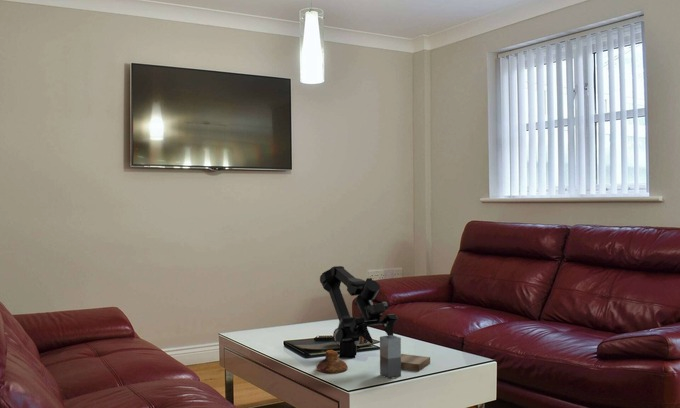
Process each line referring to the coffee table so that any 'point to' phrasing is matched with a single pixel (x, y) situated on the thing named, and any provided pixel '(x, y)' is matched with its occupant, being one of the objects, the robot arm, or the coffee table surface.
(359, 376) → the coffee table surface
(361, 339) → the brown white half disc
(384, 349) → the block
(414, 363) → the stand
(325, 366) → the bell
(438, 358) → the coffee table surface
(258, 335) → the coffee table surface
